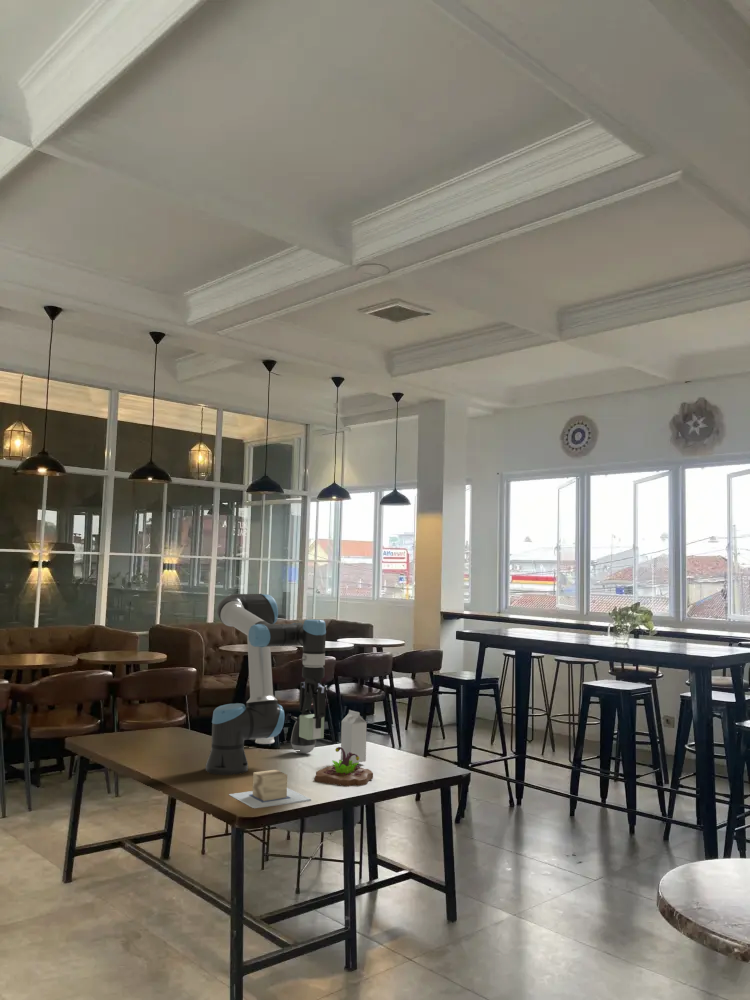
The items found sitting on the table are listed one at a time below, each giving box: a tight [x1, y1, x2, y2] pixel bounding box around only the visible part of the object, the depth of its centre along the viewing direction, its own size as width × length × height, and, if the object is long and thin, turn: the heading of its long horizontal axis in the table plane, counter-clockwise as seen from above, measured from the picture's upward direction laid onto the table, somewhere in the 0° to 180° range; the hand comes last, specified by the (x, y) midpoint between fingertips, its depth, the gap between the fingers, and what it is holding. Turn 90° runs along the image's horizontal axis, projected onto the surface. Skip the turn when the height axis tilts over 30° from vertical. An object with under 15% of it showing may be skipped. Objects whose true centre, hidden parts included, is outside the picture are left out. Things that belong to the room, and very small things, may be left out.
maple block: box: [252, 769, 288, 801], centre depth 258 cm, size 8×8×7 cm
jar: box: [254, 737, 275, 745], centre depth 347 cm, size 11×10×15 cm
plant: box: [314, 746, 374, 787], centre depth 287 cm, size 20×20×11 cm
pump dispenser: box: [290, 713, 317, 754], centre depth 329 cm, size 10×10×15 cm
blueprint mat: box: [228, 787, 312, 809], centre depth 257 cm, size 18×20×1 cm
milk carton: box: [340, 709, 368, 764], centre depth 315 cm, size 7×7×19 cm
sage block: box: [299, 713, 325, 740], centre depth 270 cm, size 6×6×7 cm
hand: (311, 736), depth 270 cm, fingers closed on sage block, 6 cm apart
